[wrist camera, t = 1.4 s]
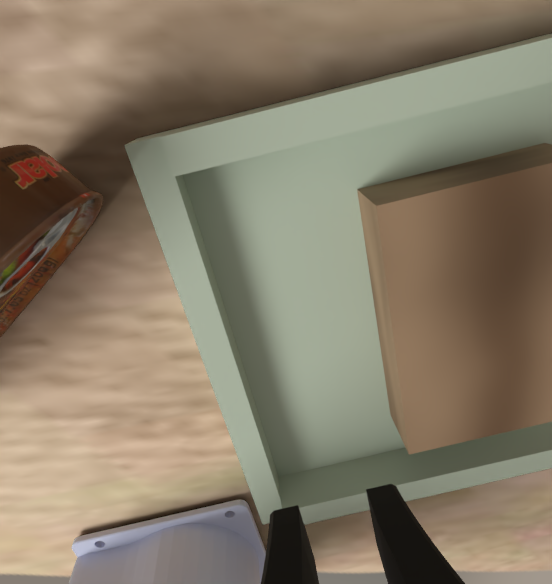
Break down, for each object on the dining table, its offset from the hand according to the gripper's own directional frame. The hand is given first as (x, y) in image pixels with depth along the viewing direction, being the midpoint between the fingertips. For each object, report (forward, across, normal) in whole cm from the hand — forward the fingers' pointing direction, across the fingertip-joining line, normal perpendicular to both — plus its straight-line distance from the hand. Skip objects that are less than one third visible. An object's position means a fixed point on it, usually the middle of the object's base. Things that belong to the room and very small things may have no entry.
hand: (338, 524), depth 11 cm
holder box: (+9, -4, 0) cm, 10 cm away
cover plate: (+9, -7, 0) cm, 11 cm away
